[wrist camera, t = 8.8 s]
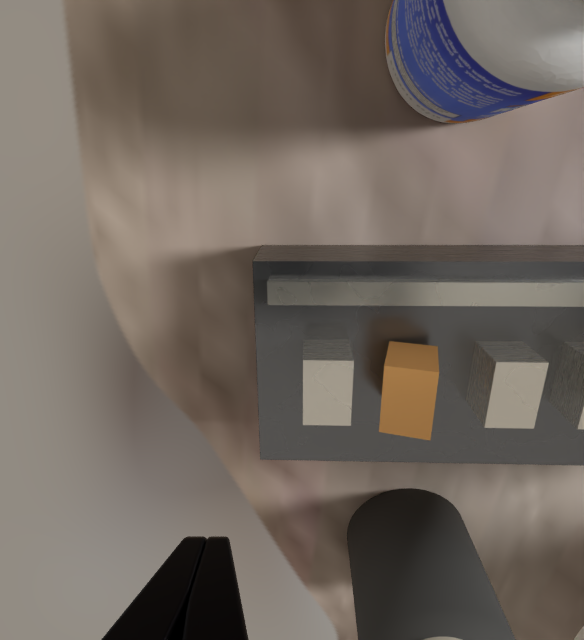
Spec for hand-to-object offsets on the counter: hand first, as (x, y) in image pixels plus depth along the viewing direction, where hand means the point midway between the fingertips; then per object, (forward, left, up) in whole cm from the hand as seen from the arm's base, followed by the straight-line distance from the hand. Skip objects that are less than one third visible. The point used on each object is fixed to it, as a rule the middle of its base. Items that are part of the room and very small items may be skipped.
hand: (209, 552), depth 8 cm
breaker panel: (-5, -5, -11) cm, 13 cm away
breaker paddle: (-4, -4, -8) cm, 9 cm away
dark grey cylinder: (-13, +3, -11) cm, 17 cm away
